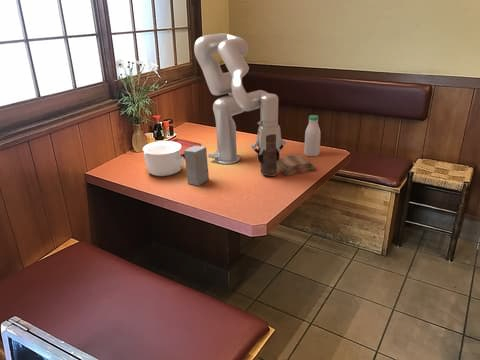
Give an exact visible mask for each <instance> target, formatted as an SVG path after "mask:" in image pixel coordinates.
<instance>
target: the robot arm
mask: <svg viewBox="0 0 480 360" xmlns="http://www.w3.org/2000/svg"><path fill="white" fill-rule="evenodd" d="M193 47H194V48H193V49H194V50H193V51H194V55H195V58H196V60H197V63H198V64H199V66H200V68H201V70H202V74H203V76H204V78H205V81H206V84H207V87H208V89H209V90H208V91H210V93H211V94H212V95H213V96H221V95H225V94H228V95H225V96H221V97H219V98H217V99H216V100H215V101H214V102H213V104H212V110H213V114H214V119H215V127H216V129H215V130H216V145H217V146H216V147H217V148H216V149H217V150H215V152H214V153H208V154H207V158H209V159H212V160H214V161H215V162H216V163H218V164H221V165H231V164H236V163H238V162H239V161H240V159H241V156H240V155H239V154H238V152H237V149H238V147H237V125H236V123H235V120H234V118H233V116H235V115H238V114H242V113H245V112H251V111H254V110H257V109H260V110H259V111H260V114H259V115H260V119H259V121H257V123H256V125H259V126H258V129H257V137H256V141H255V142H254V143H253V144H252V145H251V149H252V150H253V151H254V152H255V153H256V154H257V161H258V162H259V164H261V163H262V152H263V150H266V136H269V135H275V134H276V148H277V160H279V157H280V156H281V155H280V153H281V150H282V149H283V148H284V146H285V145H287V142H286V140H283V138H282V133H281V131H282V130H281V126H280V125H279V96H278V95H277V94H276V93H269V92H267V91H266V90H262V89H257V90H254V91H251V92H247V91H246V89H245V87H244V85H243V78H244V77H245V76H246V74H248V72H249V69H250V66H249V65H248V63H247V61H246V59H245V58H244V57H245V56H247V55H248V53H249V45H248V43H247V41H246V40H245V39H244V38H242V37H240V36H236V35H233V34H230V33H227V32H226V33H225V32H223V33H213V34H206V35H202V36H200V37H198V38H197V39H196V40H195V42H194V46H193ZM214 54H219V56H220V57H221V58H220V59H222V61H223V63H224V64H225V67H226V69H227V72H224V71H223V70H222V68H221V65H220V62H219V61H218V60H217V59H216V58H215V57H214V56H213V55H214Z"/></svg>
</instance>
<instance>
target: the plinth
mask: <svg viewBox="0 0 480 360" xmlns="http://www.w3.org/2000/svg"><path fill="white" fill-rule="evenodd" d="M277 171H279V172H280V173H281V174H282V175H283V176H285V177H287V176H293V175H298V174H299V175H300V174H304V173H310V172H316V171H317V166H316V165H314V164H313V163H311V161H310V160H308V159H306V158H305V157H304V156H302V155H301V154H299V153H297V154H295V153H294V154H291V155H290V154H289V155H285V156H284V155H283V156H279V160H277Z"/></svg>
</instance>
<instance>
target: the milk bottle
mask: <svg viewBox="0 0 480 360" xmlns="http://www.w3.org/2000/svg"><path fill="white" fill-rule="evenodd" d="M318 122H319V115H317V114H310V115H309V116H308V124H307V127H305V128H306V129H305V132H304V150H303V151H304V155H305V156H307V157H318V156H319V155H320V153H321V133H322V132H321V129H320V126H319V123H318Z"/></svg>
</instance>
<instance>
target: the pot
mask: <svg viewBox="0 0 480 360" xmlns="http://www.w3.org/2000/svg"><path fill="white" fill-rule="evenodd" d="M180 149H181V144H179V143H177V142H173V141H172V140H160V141H153V142H150V143H148V144H146V145H144V146H143V147H142V151H143V159H144V160H145V166H146V169H147V171H148V173H149V174H151V175H153V176H157V177H165V176H171V175H174V174H177V173H179V172H180V171H181V170H182V165H184V163H185V157H182V156H180V151H179V150H180Z"/></svg>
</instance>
